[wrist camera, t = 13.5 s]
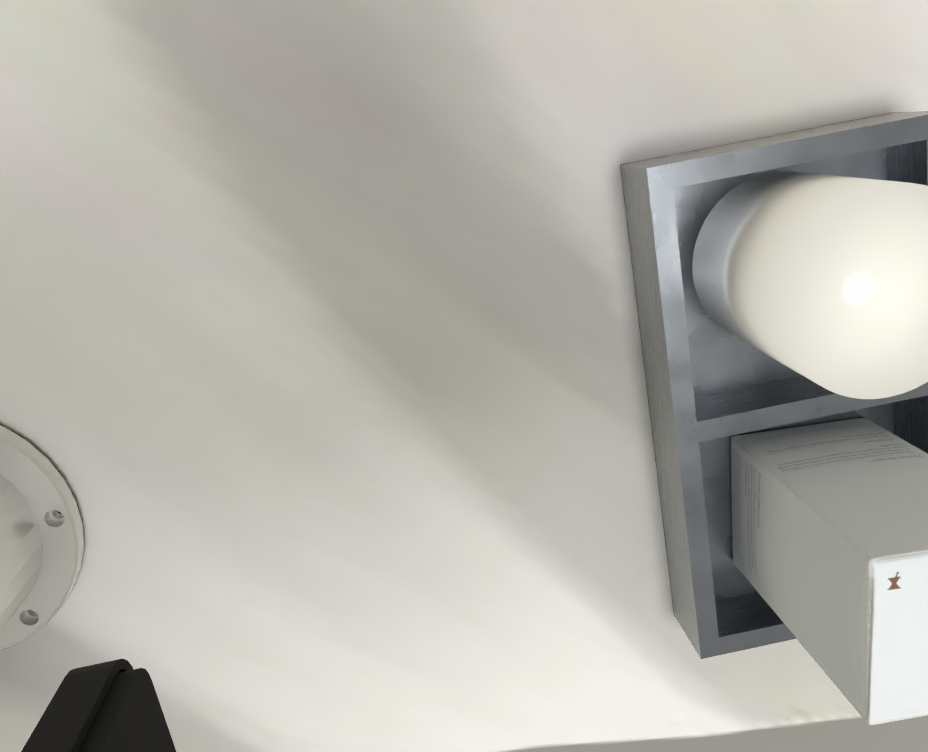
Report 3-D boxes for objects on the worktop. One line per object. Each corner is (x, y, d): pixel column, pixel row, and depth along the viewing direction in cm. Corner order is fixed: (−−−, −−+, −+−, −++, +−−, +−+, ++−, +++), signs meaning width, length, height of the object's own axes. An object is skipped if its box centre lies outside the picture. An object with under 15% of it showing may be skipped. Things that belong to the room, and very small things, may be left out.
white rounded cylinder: (700, 356, 40) (787, 418, 31) (684, 189, 38) (773, 206, 29) (860, 324, 40) (990, 376, 32) (854, 156, 38) (992, 163, 29)
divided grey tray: (674, 614, 45) (701, 659, 41) (620, 164, 38) (646, 168, 34) (904, 565, 46) (952, 604, 42) (893, 112, 39) (949, 110, 35)
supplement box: (728, 565, 43) (862, 731, 31) (727, 432, 41) (870, 556, 29) (865, 546, 44) (1048, 703, 32) (871, 413, 42) (1069, 528, 30)
